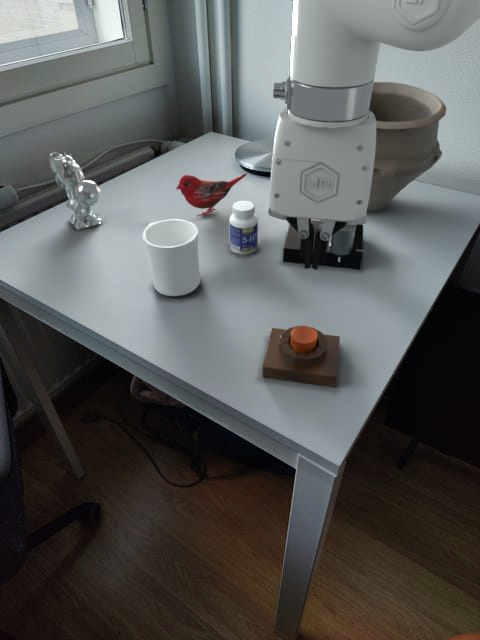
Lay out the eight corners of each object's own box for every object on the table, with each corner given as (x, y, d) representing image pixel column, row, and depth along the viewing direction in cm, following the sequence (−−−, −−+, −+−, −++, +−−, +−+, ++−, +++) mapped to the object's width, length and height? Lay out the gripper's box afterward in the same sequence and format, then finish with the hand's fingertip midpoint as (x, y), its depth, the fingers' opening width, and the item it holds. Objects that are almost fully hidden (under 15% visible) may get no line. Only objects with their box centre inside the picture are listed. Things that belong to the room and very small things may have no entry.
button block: (338, 346, 68) (341, 326, 66) (335, 387, 62) (339, 367, 60) (271, 338, 70) (272, 318, 67) (262, 377, 64) (262, 357, 61)
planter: (434, 192, 105) (464, 87, 90) (412, 244, 89) (444, 126, 74) (329, 172, 114) (341, 74, 99) (292, 216, 98) (299, 106, 83)
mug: (212, 285, 80) (209, 233, 73) (170, 307, 76) (162, 254, 69) (176, 259, 86) (169, 209, 80) (135, 278, 82) (124, 227, 75)
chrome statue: (117, 233, 94) (101, 161, 84) (89, 243, 91) (69, 170, 81) (86, 206, 102) (68, 138, 92) (59, 215, 100) (38, 146, 90)
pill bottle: (244, 258, 86) (244, 215, 80) (224, 248, 89) (222, 206, 83) (263, 246, 89) (264, 204, 83) (243, 237, 92) (242, 196, 86)
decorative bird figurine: (176, 221, 97) (170, 176, 90) (243, 197, 105) (242, 153, 98) (183, 227, 95) (178, 181, 89) (251, 201, 103) (251, 158, 96)
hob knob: (352, 256, 81) (357, 229, 77) (328, 254, 81) (331, 228, 78) (351, 243, 84) (355, 217, 80) (328, 241, 84) (331, 215, 81)
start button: (317, 336, 65) (318, 327, 64) (315, 354, 62) (316, 345, 61) (291, 333, 65) (292, 323, 64) (288, 350, 63) (289, 341, 62)
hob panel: (361, 238, 91) (364, 223, 89) (361, 278, 81) (364, 263, 79) (290, 231, 93) (290, 217, 91) (280, 270, 83) (281, 255, 81)
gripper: (242, 107, 41) (244, 274, 53) (416, 115, 39) (376, 289, 51) (256, 84, 47) (255, 240, 59) (410, 90, 44) (375, 252, 56)
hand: (311, 262), depth 55 cm, fingers closed
